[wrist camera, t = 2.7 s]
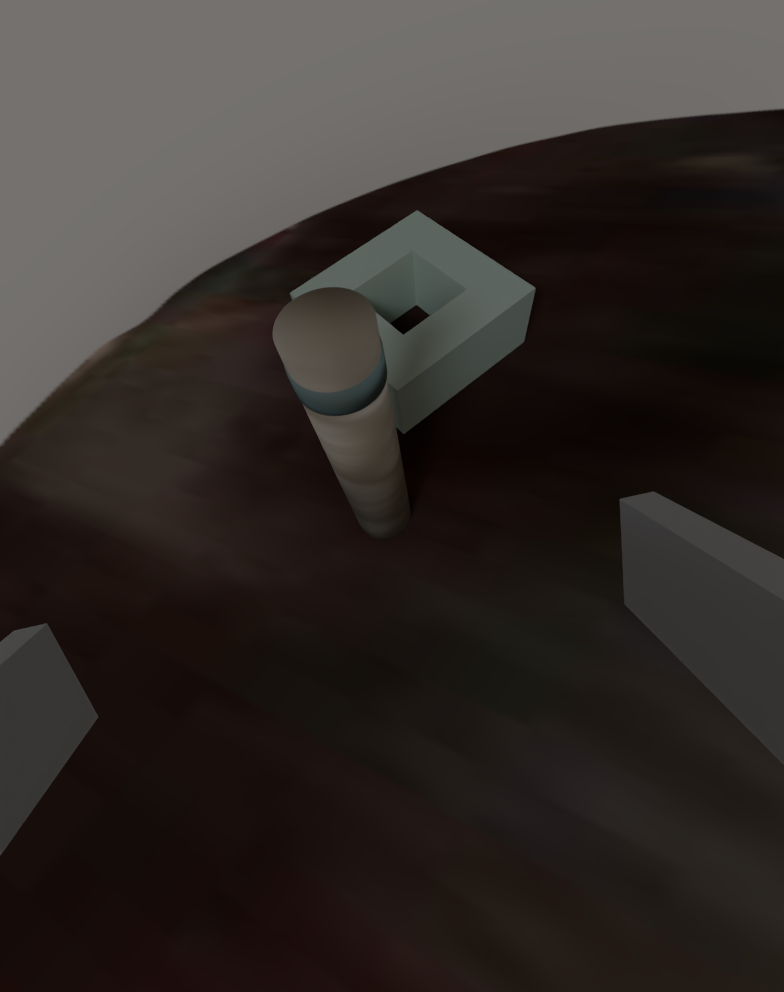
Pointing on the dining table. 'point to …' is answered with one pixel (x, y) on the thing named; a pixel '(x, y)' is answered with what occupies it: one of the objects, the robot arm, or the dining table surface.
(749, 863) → the dining table surface
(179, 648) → the dining table surface
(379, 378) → the tan cylinder
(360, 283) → the grey square-hole block
